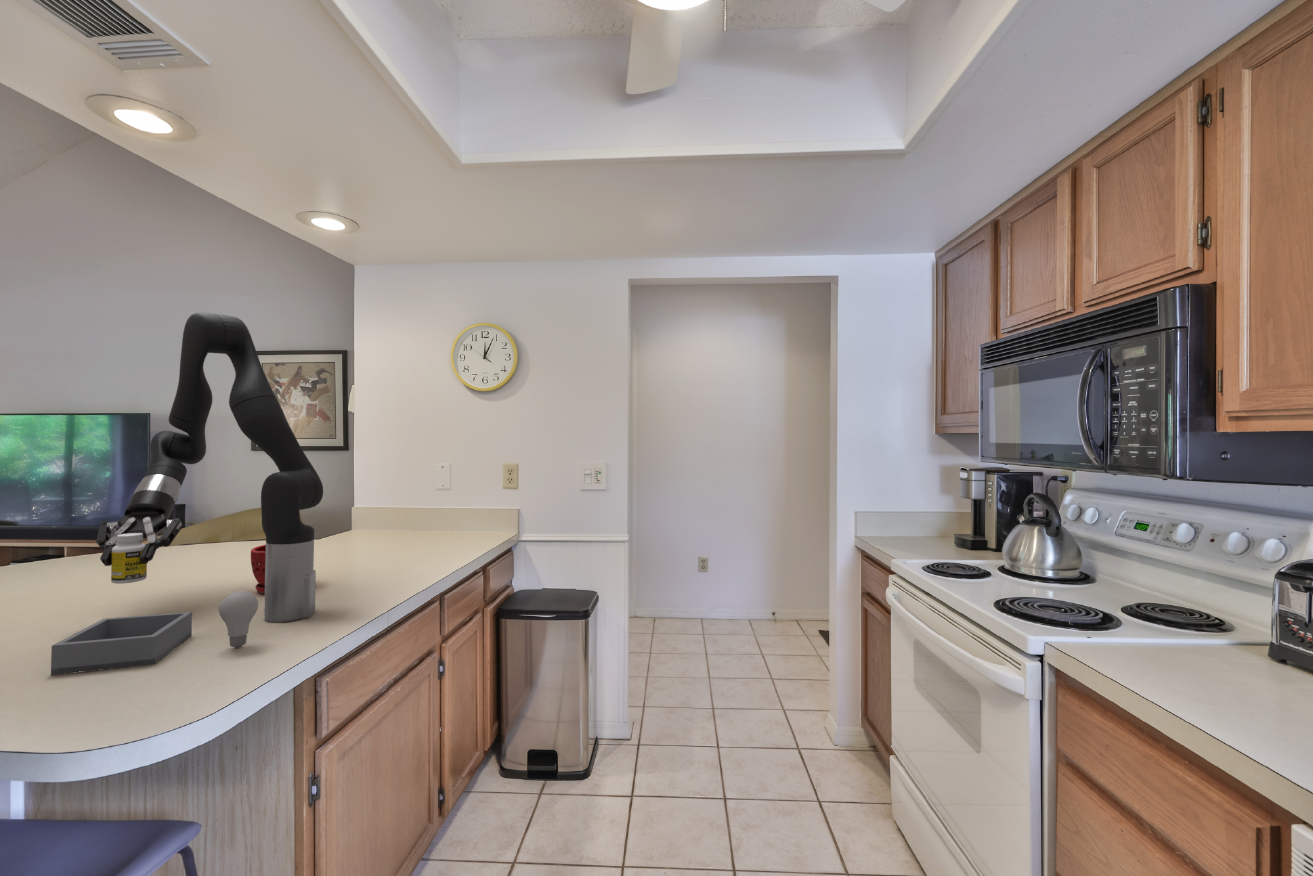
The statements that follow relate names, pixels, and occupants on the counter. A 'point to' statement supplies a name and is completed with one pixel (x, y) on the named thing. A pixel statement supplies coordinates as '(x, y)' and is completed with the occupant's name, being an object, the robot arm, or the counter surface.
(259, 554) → the plant pot
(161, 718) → the counter surface
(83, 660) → the tote
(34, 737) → the counter surface
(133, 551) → the supplement bottle
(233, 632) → the lightbulb
